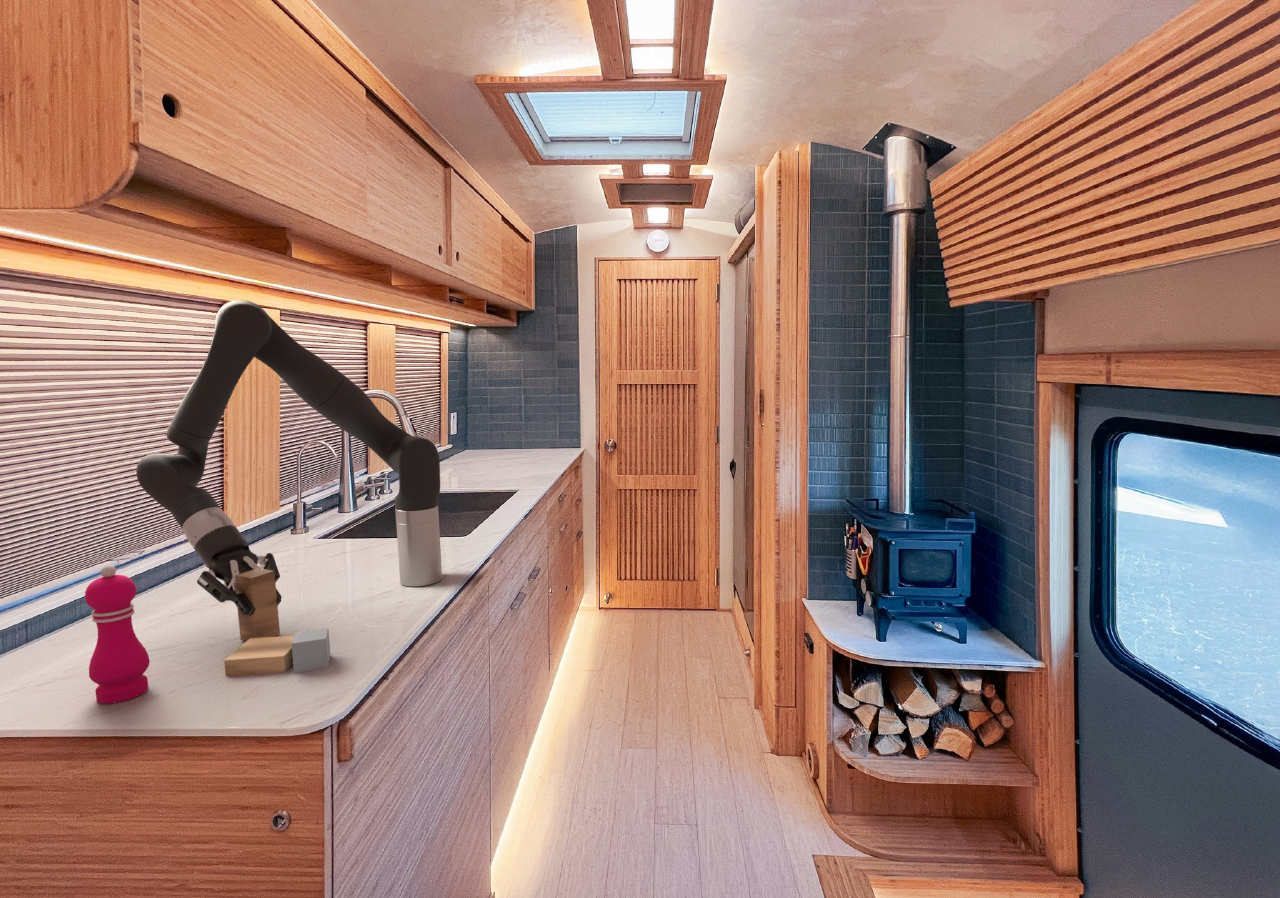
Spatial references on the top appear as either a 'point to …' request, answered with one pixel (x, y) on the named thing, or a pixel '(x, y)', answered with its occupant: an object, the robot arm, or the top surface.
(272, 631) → the walnut pillar
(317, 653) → the slate block
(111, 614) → the pepper mill
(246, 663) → the oak base
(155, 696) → the top surface
